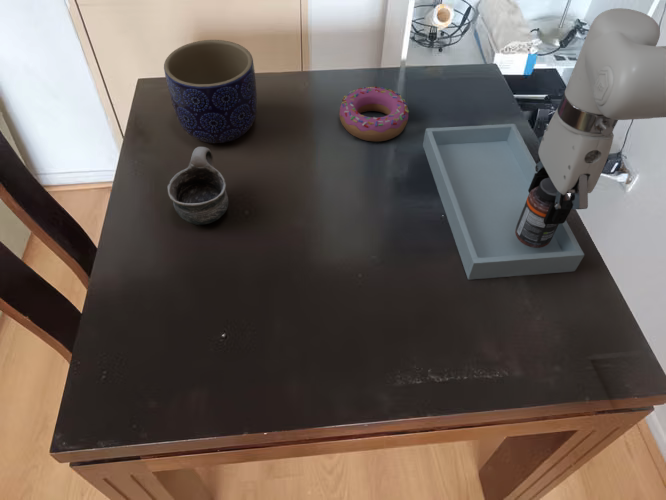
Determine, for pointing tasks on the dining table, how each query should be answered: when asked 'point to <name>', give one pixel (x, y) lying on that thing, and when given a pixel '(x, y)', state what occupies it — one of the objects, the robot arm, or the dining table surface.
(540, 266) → the blue-grey tray
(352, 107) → the donut
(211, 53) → the planter
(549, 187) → the supplement bottle
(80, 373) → the dining table surface
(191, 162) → the mug
